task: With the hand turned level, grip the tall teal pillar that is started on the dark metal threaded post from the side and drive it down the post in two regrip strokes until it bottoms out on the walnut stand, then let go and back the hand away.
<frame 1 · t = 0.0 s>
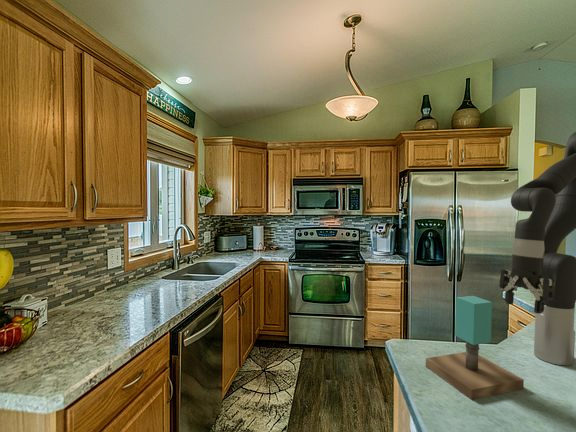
hand: (522, 308, 92), 17 cm above the countertop, tool pointing down, fingers open, 8 cm apart
tall teal pillar: (473, 319, 85), point 16 cm above the countertop, slide at 8.0 cm
post stand: (471, 376, 85), on the countertop
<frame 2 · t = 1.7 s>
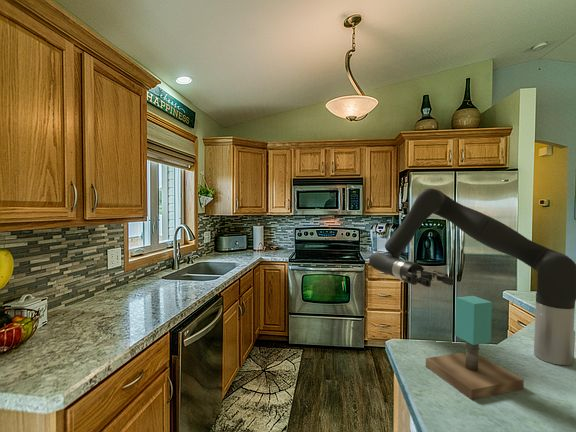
hand: (441, 282, 96), 23 cm above the countertop, tool horizontal, fingers open, 8 cm apart
nothing on the countertop moved.
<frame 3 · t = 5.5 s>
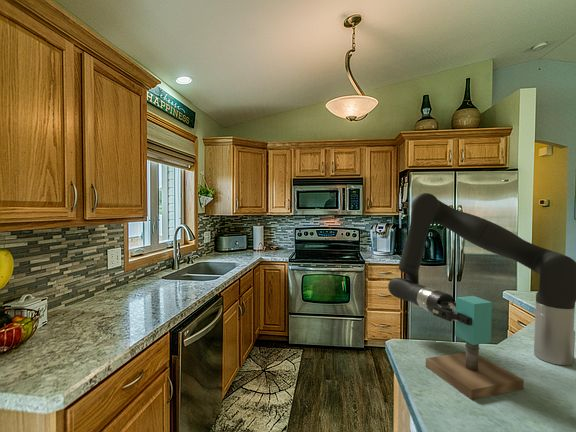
hand: (480, 320, 82), 17 cm above the countertop, tool horizontal, fingers closed on tall teal pillar, 6 cm apart
tall teal pillar: (473, 319, 85), point 16 cm above the countertop, slide at 8.0 cm, touching gripper
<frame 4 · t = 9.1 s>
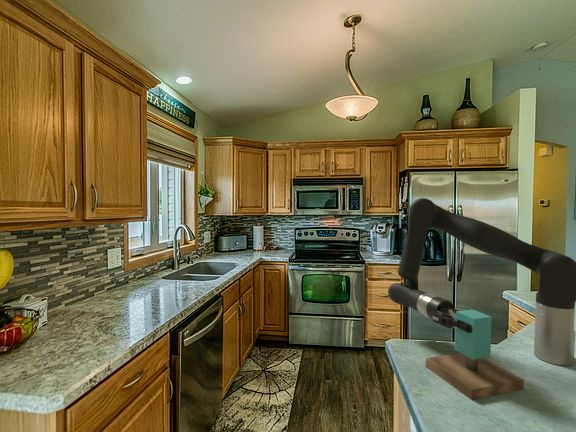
hand: (480, 328, 83), 15 cm above the countertop, tool horizontal, fingers closed on tall teal pillar, 6 cm apart
tall teal pillar: (472, 333, 85), point 12 cm above the countertop, slide at 4.0 cm, touching gripper
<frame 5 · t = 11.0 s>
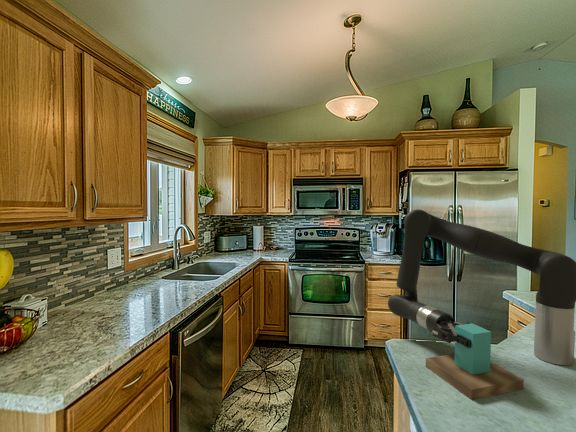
hand: (480, 343, 83), 11 cm above the countertop, tool horizontal, fingers closed on tall teal pillar, 6 cm apart
tall teal pillar: (472, 348, 85), point 8 cm above the countertop, slide at -0.1 cm, touching gripper
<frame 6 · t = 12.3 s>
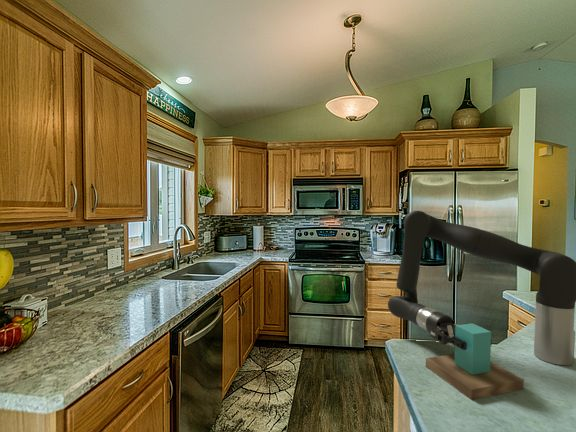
hand: (478, 344, 83), 10 cm above the countertop, tool horizontal, fingers open, 8 cm apart
tall teal pillar: (472, 348, 85), point 8 cm above the countertop, slide at -0.1 cm
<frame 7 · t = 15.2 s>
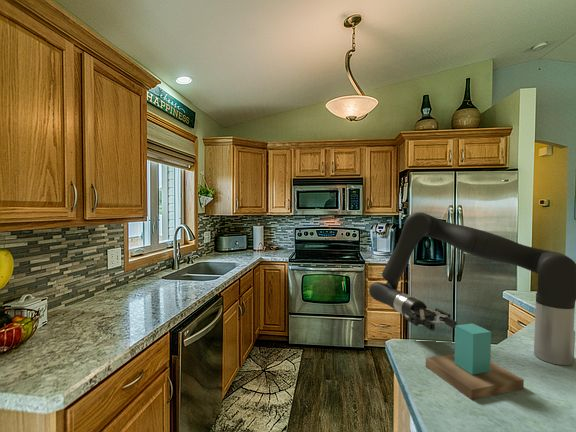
hand: (444, 326, 96), 10 cm above the countertop, tool horizontal, fingers open, 8 cm apart
nothing on the countertop moved.
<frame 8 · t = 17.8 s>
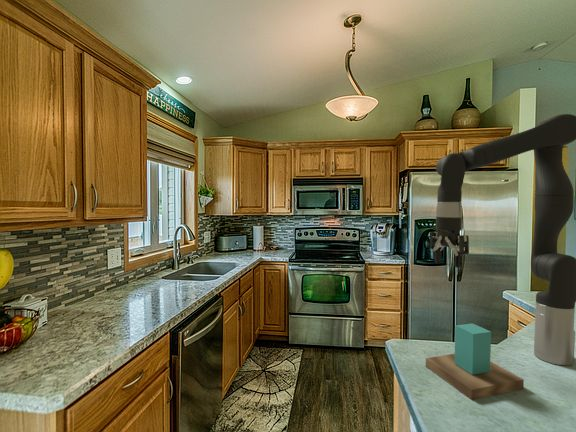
hand: (447, 264, 101), 28 cm above the countertop, tool pointing down, fingers open, 8 cm apart
nothing on the countertop moved.
at the end: tall teal pillar slide at -0.1 cm; the gripper is holding nothing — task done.
